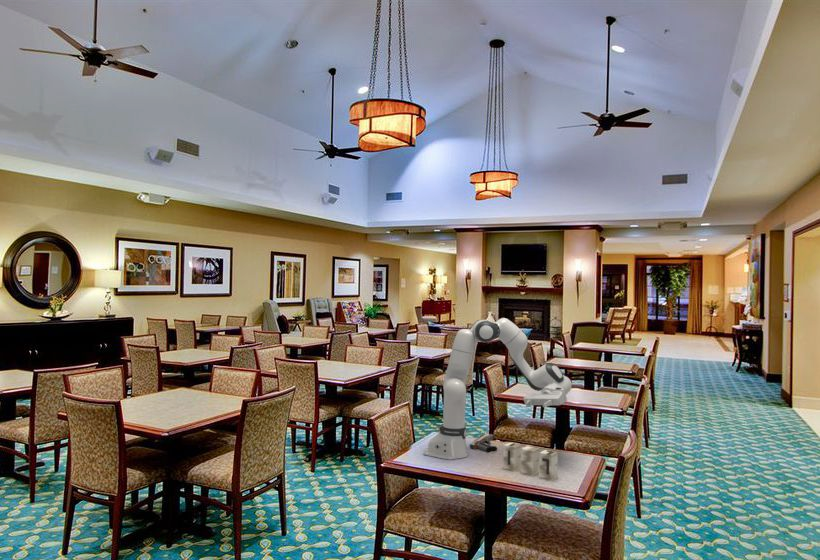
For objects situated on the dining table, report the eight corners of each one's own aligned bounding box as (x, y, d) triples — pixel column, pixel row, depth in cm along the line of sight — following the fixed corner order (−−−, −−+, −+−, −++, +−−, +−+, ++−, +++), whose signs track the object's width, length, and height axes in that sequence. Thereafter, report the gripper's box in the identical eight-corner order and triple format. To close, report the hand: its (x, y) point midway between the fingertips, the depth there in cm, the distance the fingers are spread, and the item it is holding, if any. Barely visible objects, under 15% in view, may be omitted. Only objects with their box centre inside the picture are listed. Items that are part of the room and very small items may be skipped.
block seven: (539, 477, 228) (539, 452, 229) (545, 474, 233) (545, 449, 234) (551, 481, 225) (552, 455, 225) (557, 477, 229) (557, 452, 230)
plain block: (520, 473, 234) (520, 448, 235) (526, 469, 239) (526, 445, 239) (533, 476, 230) (533, 451, 231) (538, 472, 235) (538, 448, 236)
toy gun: (493, 454, 263) (466, 449, 270) (509, 441, 289) (483, 437, 296) (493, 448, 263) (466, 444, 270) (509, 435, 289) (483, 432, 296)
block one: (503, 468, 240) (503, 444, 240) (509, 465, 245) (509, 442, 245) (514, 471, 236) (514, 447, 236) (521, 468, 241) (521, 444, 241)
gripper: (531, 388, 261) (515, 399, 252) (566, 388, 246) (551, 399, 237) (534, 400, 261) (519, 411, 252) (570, 401, 246) (555, 412, 237)
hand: (535, 405), depth 244 cm, fingers open, 8 cm apart
